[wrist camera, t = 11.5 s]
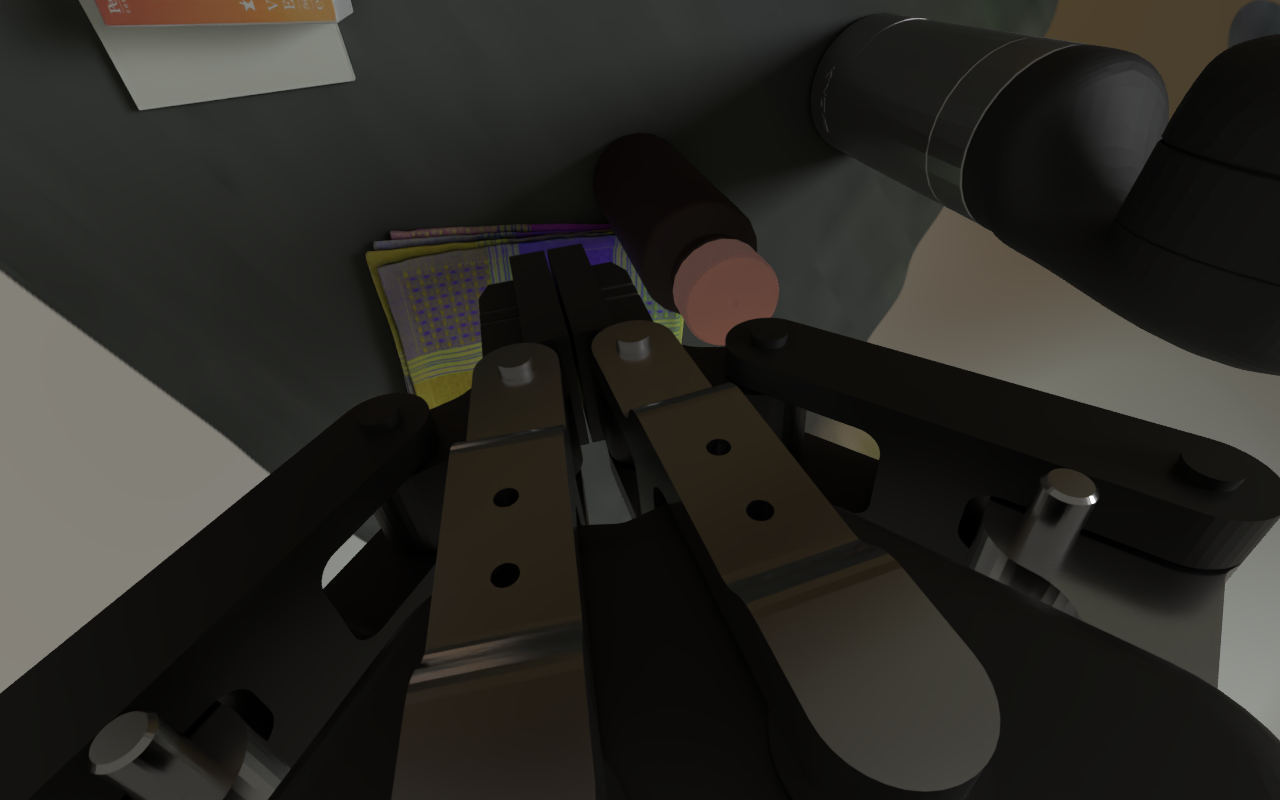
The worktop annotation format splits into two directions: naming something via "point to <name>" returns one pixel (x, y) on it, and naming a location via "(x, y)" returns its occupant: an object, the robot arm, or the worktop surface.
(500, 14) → the worktop surface
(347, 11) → the small box
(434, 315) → the dish towel
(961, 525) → the robot arm
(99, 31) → the mat
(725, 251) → the bottle
